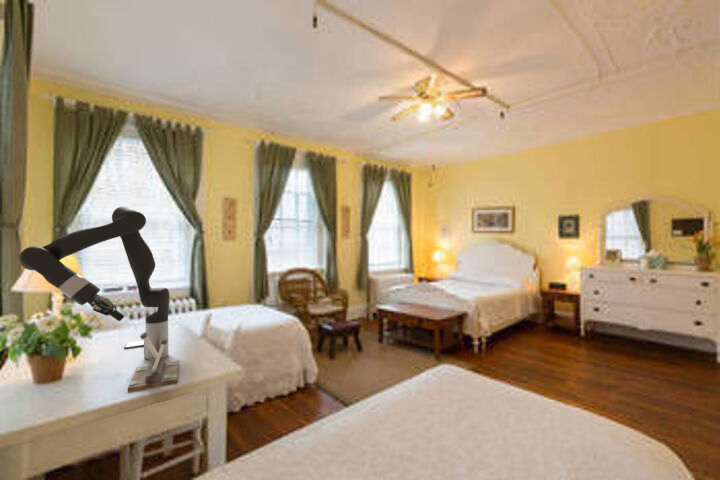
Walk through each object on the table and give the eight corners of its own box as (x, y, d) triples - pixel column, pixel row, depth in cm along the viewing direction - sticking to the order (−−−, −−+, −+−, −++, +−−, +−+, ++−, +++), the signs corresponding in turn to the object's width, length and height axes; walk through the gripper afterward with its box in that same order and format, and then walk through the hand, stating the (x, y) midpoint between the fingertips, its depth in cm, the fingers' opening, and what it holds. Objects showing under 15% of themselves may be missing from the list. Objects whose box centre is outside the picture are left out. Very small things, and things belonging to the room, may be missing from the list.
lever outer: (150, 373, 123) (162, 340, 125) (151, 369, 127) (163, 337, 128) (155, 373, 124) (167, 341, 126) (156, 369, 127) (168, 338, 129)
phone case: (123, 350, 163) (160, 345, 171) (123, 347, 163) (160, 342, 171) (126, 345, 171) (161, 340, 179) (126, 342, 171) (161, 337, 179)
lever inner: (155, 361, 136) (140, 336, 133) (156, 358, 139) (141, 334, 137) (160, 359, 137) (144, 334, 134) (161, 356, 140) (145, 331, 137)
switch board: (127, 392, 119) (127, 380, 119) (136, 370, 137) (136, 360, 137) (177, 382, 126) (176, 371, 126) (179, 363, 145) (179, 354, 145)
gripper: (83, 284, 110) (127, 315, 116) (94, 279, 122) (133, 307, 128) (63, 301, 108) (109, 331, 113) (76, 294, 119) (117, 322, 125)
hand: (122, 318), depth 121 cm, fingers closed
